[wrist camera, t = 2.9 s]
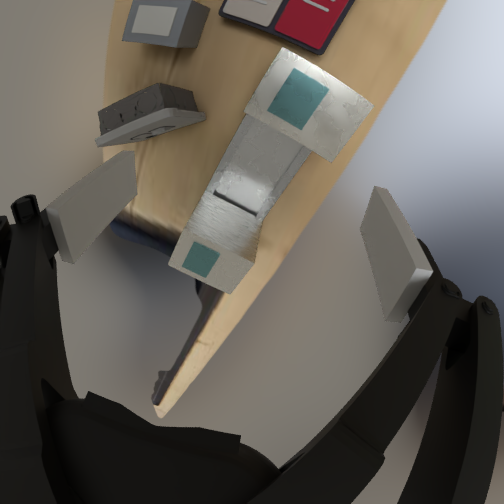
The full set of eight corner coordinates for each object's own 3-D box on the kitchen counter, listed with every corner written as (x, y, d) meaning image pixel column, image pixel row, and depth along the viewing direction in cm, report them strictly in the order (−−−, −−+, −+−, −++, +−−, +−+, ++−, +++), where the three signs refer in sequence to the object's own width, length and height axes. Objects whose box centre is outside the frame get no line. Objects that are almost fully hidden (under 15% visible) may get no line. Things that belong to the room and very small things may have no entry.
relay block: (149, 40, 23) (120, 41, 19) (160, 2, 20) (133, -4, 15) (197, 47, 24) (175, 47, 19) (210, 8, 21) (190, -1, 16)
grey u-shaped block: (192, 217, 39) (167, 266, 31) (285, 50, 23) (282, 46, 16) (243, 243, 40) (229, 295, 33) (350, 90, 25) (375, 106, 17)
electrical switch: (142, 140, 32) (99, 163, 24) (130, 104, 29) (83, 118, 22) (209, 118, 30) (177, 134, 22) (197, 78, 27) (160, 79, 19)
